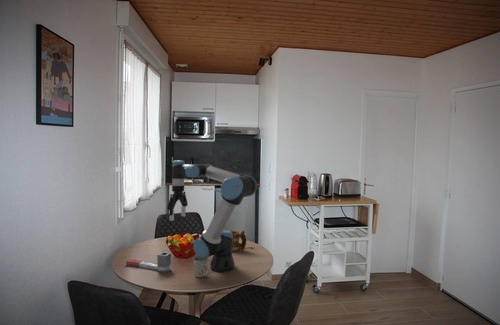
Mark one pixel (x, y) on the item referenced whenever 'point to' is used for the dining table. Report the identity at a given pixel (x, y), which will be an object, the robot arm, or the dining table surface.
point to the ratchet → (147, 265)
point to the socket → (164, 259)
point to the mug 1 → (200, 266)
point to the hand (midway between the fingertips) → (177, 218)
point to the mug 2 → (235, 243)
